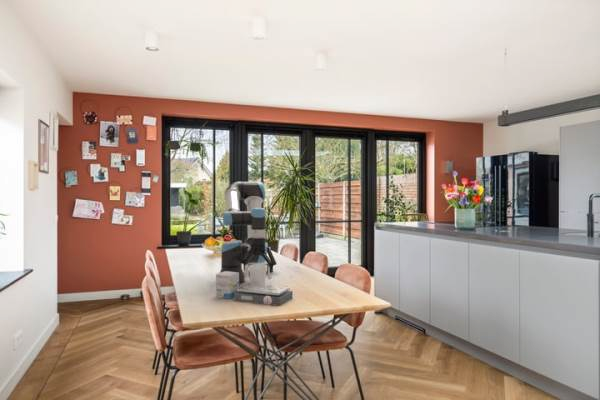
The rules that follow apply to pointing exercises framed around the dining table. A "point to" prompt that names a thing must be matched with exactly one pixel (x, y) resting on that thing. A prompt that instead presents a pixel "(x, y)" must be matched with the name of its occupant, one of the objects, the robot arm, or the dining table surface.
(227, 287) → the ink box
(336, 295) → the dining table surface
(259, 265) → the foam cup
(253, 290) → the plate
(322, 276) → the dining table surface
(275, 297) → the scale
